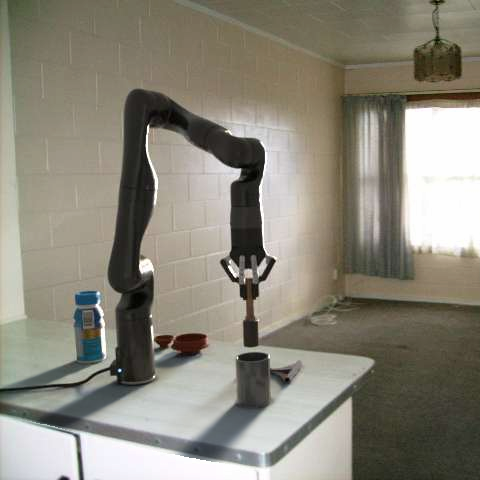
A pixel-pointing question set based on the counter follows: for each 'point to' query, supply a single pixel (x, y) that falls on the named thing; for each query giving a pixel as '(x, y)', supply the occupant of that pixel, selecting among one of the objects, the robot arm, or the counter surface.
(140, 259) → the robot arm
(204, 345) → the pottery
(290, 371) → the bracket
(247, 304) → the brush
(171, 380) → the counter surface
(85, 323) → the beverage bottle
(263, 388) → the grey metal cup
